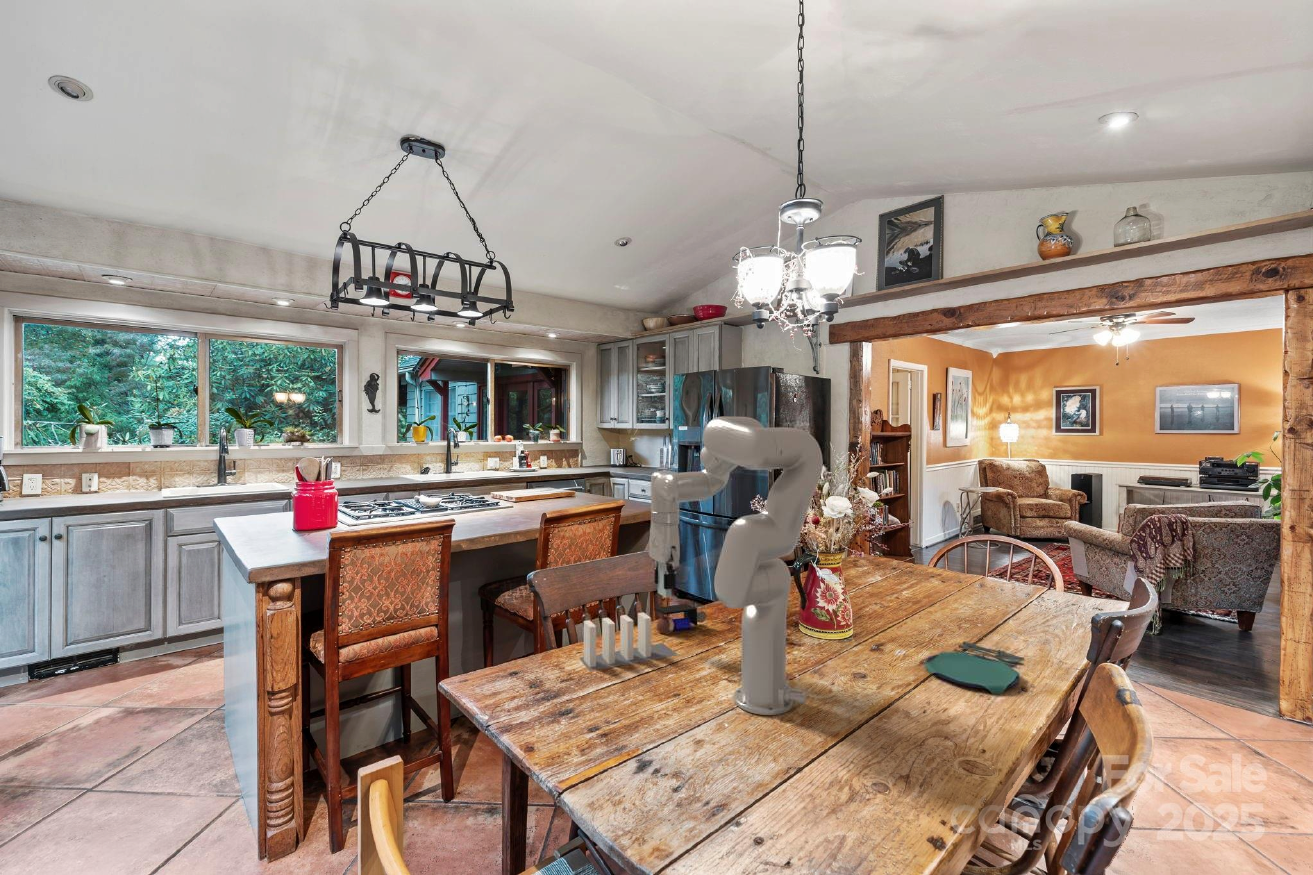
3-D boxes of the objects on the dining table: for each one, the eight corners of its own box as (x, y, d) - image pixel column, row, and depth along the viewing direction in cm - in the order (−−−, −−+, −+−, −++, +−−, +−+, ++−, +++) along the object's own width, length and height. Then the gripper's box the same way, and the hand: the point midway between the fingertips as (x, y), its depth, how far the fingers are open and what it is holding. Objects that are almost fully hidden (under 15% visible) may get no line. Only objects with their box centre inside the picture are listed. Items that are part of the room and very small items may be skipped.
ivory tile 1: (643, 649, 155) (643, 612, 155) (651, 656, 150) (651, 617, 150) (637, 650, 154) (637, 613, 154) (645, 657, 150) (645, 618, 149)
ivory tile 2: (626, 652, 153) (626, 614, 152) (633, 659, 148) (633, 620, 148) (620, 653, 152) (620, 615, 152) (627, 660, 147) (627, 621, 147)
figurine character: (691, 627, 178) (650, 631, 169) (694, 601, 178) (653, 604, 170) (705, 633, 172) (664, 638, 164) (708, 607, 173) (666, 610, 164)
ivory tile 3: (608, 655, 150) (608, 617, 150) (614, 662, 146) (614, 623, 146) (602, 656, 150) (602, 618, 150) (608, 664, 145) (608, 624, 145)
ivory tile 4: (589, 659, 148) (589, 620, 148) (596, 666, 144) (596, 626, 144) (583, 660, 148) (583, 621, 148) (590, 667, 143) (589, 627, 143)
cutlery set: (912, 676, 140) (912, 667, 140) (956, 644, 161) (956, 636, 161) (1005, 704, 126) (1005, 694, 126) (1040, 665, 147) (1040, 656, 147)
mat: (663, 644, 159) (663, 643, 159) (677, 656, 151) (677, 654, 151) (578, 659, 149) (578, 657, 149) (589, 672, 141) (589, 671, 141)
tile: (663, 592, 157) (663, 555, 157) (671, 597, 153) (671, 559, 152) (657, 592, 156) (657, 555, 156) (665, 597, 152) (666, 559, 152)
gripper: (639, 514, 160) (639, 579, 161) (666, 523, 145) (666, 596, 145) (663, 512, 163) (663, 576, 164) (692, 521, 148) (692, 592, 148)
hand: (664, 585), depth 154 cm, fingers closed on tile, 4 cm apart
